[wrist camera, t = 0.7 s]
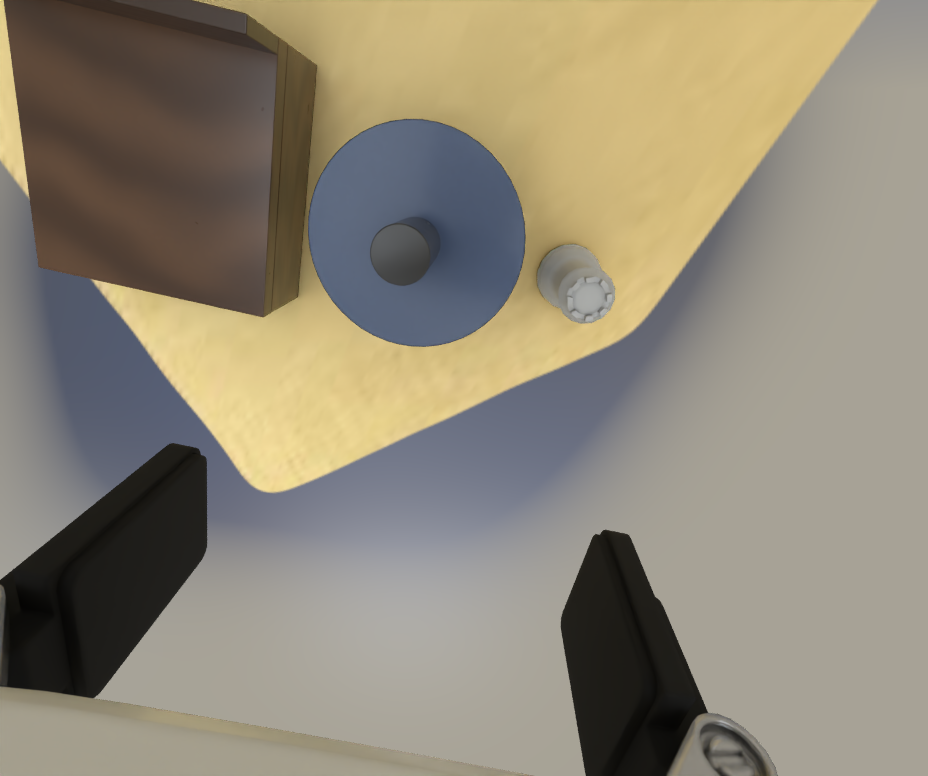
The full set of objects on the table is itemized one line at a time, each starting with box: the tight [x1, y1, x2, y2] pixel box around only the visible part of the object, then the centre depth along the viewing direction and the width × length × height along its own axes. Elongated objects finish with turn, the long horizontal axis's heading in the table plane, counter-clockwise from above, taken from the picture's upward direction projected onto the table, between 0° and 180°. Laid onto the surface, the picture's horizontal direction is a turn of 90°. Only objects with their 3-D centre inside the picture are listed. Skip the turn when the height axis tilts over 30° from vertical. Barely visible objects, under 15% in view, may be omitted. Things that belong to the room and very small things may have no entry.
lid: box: [308, 119, 525, 347], centre depth 23 cm, size 11×11×6 cm
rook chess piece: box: [537, 244, 615, 323], centre depth 30 cm, size 4×4×8 cm
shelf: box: [4, 0, 317, 317], centre depth 28 cm, size 15×14×10 cm
